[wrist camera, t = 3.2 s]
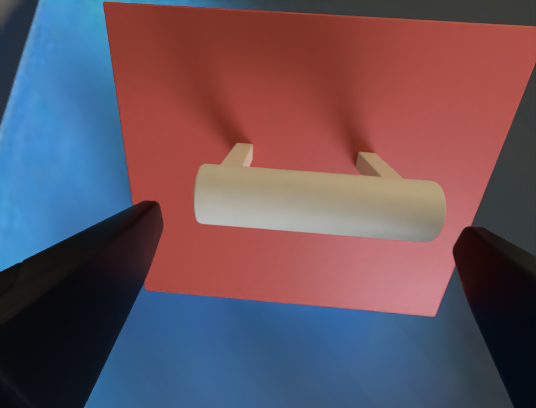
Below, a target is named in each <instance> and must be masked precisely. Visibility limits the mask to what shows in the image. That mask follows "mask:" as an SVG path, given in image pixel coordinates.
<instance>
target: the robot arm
mask: <svg viewBox="0 0 536 408" xmlns="http://www.w3.org/2000/svg"><path fill="white" fill-rule="evenodd" d="M163 228H164V223H163V217H162V212H161V207H160V204H159V203H158V202H157V201H149V200H144V201H142V202H140V203H138V204H136V205H134V206H132V207H130V208H128V209H126V210H124V211H122V212H119V213H117V214H115V215H113V216H111V217H109V218H107V219H105V220H103V221H101V222H99V223H97V224H95V225H93V226H91V227H89V228H87V229H85V230H83V231H81V232H79V233H77V234H75V235H73V236H71V237H69V238H67V239H65V240H63V241H61V242H59V243H57V244H55V245H53V246H51V247H49V248H47V249H45V250H43V251H41V252H39V253H37V254H35V255H33V256H31V257H29V258H27V259H25V260H23V262H22V263H17V264H15V265H13V266H11V267H9V268H7V269H5V270H3V271H1V272H0V408H84V406H85V404H86V402H87V400H88V398H89V396H90V394H91V392H92V390H93V388H94V385H95V383H96V381H97V379H98V377H99V375H100V373H101V371H102V369H103V367H104V365H105V363H106V360H107V358H108V356H109V354H110V352H111V350H112V348H113V346H114V344H115V342H116V340H117V338H118V335H119V333H120V331H121V329H122V327H123V325H124V323H125V321H126V319H127V317H128V315H129V313H130V310H131V308H132V306H133V304H134V302H135V300H136V298H137V296H138V294H139V292H140V290H141V288H142V285H143V283H144V281H145V279H146V277H147V275H148V272H149V270H150V267H151V264H152V261H153V258H154V255H155V252H156V250H157V247H158V244H159V241H160V238H161V235H162V232H163ZM452 253H453V258H454V261H455V264H456V267H457V270H458V274H459V277H460V280H461V283H462V286H463V289H464V293H465V296H466V298H467V301H468V304H469V306H470V309H471V311H472V313H473V316H474V318H475V320H476V322H477V325H478V327H479V329H480V331H481V334H482V336H483V338H484V341H485V343H486V345H487V347H488V350H489V352H490V354H491V356H492V359H493V361H494V363H495V366H496V368H497V370H498V372H499V375H500V377H501V379H502V381H503V384H504V386H505V388H506V391H507V393H508V395H509V397H510V400H511V402H512V404H513V406H514V408H536V256H534V255H532V254H530V253H528V252H526V251H525V250H523V249H521V248H519V247H517V246H516V245H514V244H512V243H510V242H508V241H506V240H505V239H503V238H501V237H499V236H497V235H496V234H494V233H492V232H490V231H488V230H486V229H485V228H482V227H473V226H467V227H465V228H464V229H463V230H462V232H461V234H460V235H459V237H458V239H457V241H456V243H455V244H454V246H453V250H452Z"/></svg>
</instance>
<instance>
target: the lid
mask: <svg viewBox="0 0 536 408" xmlns="http://www.w3.org/2000/svg"><path fill="white" fill-rule="evenodd" d="M103 7H104V13H105V20H106V27H107V34H108V41H109V47H110V54H111V61H112V68H113V75H114V82H115V88H116V95H117V102H118V109H119V116H120V122H121V129H122V136H123V143H124V150H125V156H126V163H127V170H128V177H129V184H130V190H131V197H132V204H133V206H134V205H136V204H138V203H140V202H142V201H144V200H149V201H157V202H158V203H159V204H160V207H161V212H162V217H163V223H164V228H163V232H162V235H161V238H160V241H159V244H158V247H157V250H156V252H155V255H154V258H153V261H152V264H151V267H150V270H149V272H148V275H147V277H146V279H145V281H144V286H145V290H148V291H159V292H170V293H181V294H192V295H203V296H214V297H225V298H236V299H247V300H258V301H269V302H280V303H291V304H302V305H313V306H323V307H334V308H345V309H356V310H367V311H378V312H389V313H400V314H411V315H422V316H433V317H434V316H435V315H436V313H437V310H438V308H439V305H440V302H441V300H442V297H443V295H444V292H445V290H446V287H447V285H448V282H449V280H450V277H451V275H452V272H453V270H454V267H455V265H456V264H455V261H454V258H453V253H452V250H453V246H454V244H455V243H456V241H457V239H458V237H459V235H460V234H461V232H462V230H463V229H464V228H465V227H467V226H471V224H472V222H473V219H474V217H475V214H476V211H477V209H478V206H479V204H480V201H481V199H482V196H483V194H484V191H485V189H486V186H487V184H488V181H489V179H490V176H491V174H492V171H493V169H494V166H495V163H496V161H497V158H498V156H499V153H500V151H501V148H502V146H503V143H504V141H505V138H506V136H507V133H508V131H509V128H510V126H511V123H512V121H513V118H514V115H515V113H516V110H517V108H518V105H519V103H520V100H521V98H522V95H523V93H524V90H525V88H526V85H527V83H528V80H529V78H530V75H531V72H532V70H533V67H534V65H535V62H536V27H535V26H518V25H500V24H483V23H466V22H448V21H431V20H414V19H396V18H379V17H362V16H345V15H327V14H310V13H293V12H275V11H258V10H241V9H223V8H206V7H189V6H172V5H154V4H137V3H120V2H103Z"/></svg>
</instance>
